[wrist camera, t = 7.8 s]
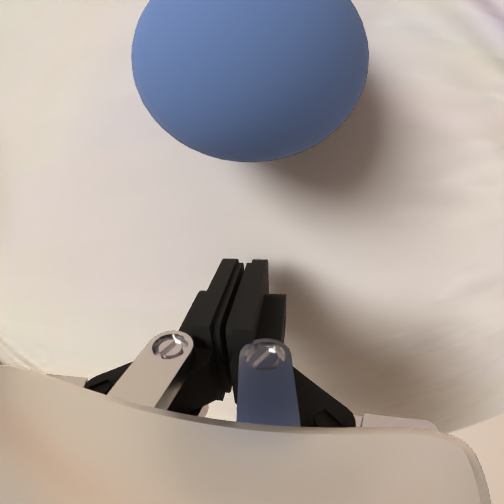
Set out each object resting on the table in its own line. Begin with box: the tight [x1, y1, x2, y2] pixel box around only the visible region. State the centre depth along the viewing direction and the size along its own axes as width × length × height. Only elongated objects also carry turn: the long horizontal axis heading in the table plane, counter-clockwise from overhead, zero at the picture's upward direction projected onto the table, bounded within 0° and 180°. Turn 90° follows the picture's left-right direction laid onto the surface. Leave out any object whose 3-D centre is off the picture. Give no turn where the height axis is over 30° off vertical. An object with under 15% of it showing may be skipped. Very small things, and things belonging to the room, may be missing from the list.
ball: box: [131, 0, 369, 162], centre depth 6 cm, size 6×6×6 cm
